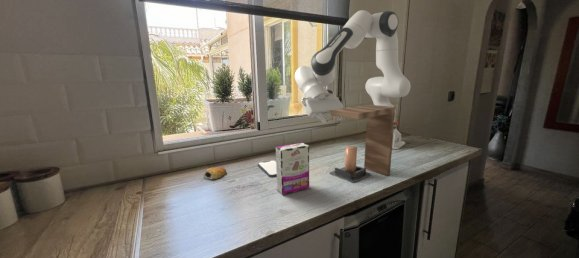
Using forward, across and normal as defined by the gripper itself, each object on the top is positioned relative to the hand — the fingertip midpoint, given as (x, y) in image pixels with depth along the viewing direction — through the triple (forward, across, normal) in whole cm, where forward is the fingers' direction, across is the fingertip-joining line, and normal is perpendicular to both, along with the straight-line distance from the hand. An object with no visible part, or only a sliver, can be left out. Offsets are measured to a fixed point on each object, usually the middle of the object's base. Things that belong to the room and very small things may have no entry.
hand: (333, 121), depth 109 cm
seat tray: (+22, 0, +8) cm, 23 cm away
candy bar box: (+18, -27, +12) cm, 35 cm away
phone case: (+4, -21, +27) cm, 34 cm away
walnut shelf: (+25, 0, +4) cm, 26 cm away
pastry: (-3, -43, +34) cm, 55 cm away
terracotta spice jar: (+21, 0, +8) cm, 23 cm away
